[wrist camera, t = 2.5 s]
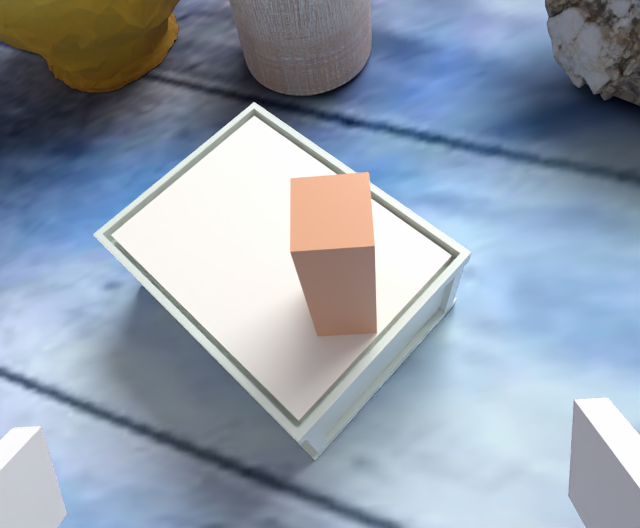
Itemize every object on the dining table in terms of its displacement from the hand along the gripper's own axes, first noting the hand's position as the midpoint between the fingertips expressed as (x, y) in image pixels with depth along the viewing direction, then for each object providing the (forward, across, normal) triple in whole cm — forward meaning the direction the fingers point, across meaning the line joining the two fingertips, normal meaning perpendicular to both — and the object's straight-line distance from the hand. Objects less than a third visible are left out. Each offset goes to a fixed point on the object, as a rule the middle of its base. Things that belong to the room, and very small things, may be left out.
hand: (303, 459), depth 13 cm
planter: (+38, -1, +12) cm, 40 cm away
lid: (+18, -3, 0) cm, 18 cm away
